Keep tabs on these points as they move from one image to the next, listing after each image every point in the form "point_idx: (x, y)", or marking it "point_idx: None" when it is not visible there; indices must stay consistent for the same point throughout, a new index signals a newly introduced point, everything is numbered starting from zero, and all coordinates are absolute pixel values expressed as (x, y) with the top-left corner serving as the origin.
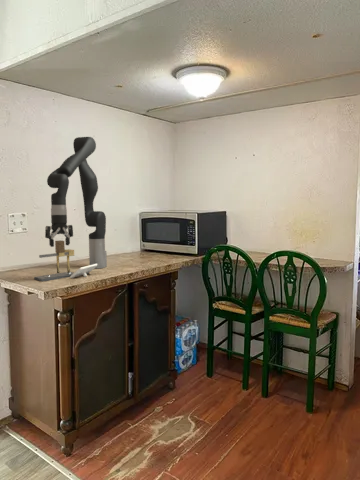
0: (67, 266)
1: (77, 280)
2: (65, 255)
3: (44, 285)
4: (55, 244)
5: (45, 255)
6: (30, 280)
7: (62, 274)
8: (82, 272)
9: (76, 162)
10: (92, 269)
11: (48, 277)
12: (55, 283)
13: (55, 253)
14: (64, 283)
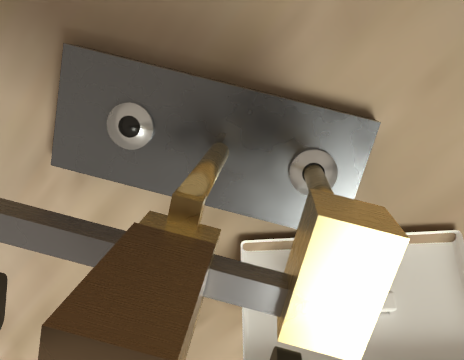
0: (308, 187)
1: (204, 331)
2: (300, 222)
3: (3, 256)
4: (81, 286)
5: None
6: (35, 51)
7: (248, 167)
8: None
9: None
10: (460, 301)
11: (111, 160)
12: (73, 273)
13: (101, 255)
14: None
